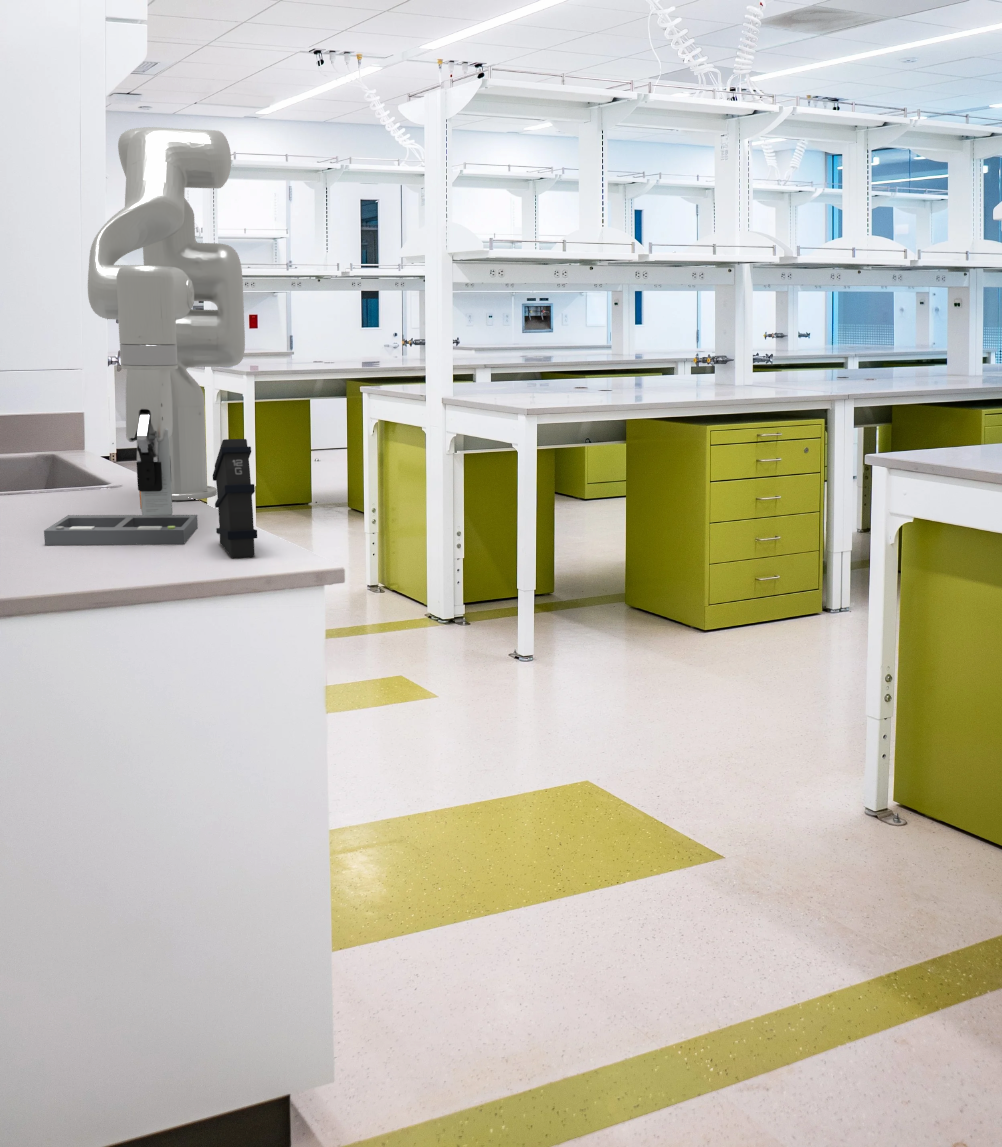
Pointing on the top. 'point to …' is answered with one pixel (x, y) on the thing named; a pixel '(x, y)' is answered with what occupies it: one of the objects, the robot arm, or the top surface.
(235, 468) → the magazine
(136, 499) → the top surface
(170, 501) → the skincare box
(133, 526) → the socket panel
